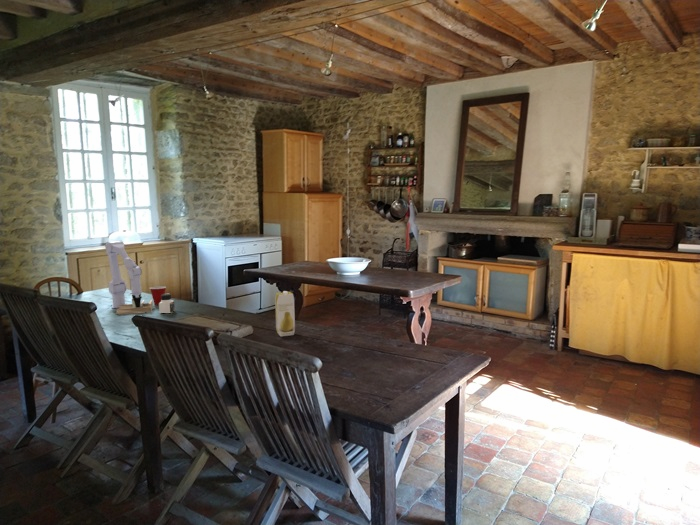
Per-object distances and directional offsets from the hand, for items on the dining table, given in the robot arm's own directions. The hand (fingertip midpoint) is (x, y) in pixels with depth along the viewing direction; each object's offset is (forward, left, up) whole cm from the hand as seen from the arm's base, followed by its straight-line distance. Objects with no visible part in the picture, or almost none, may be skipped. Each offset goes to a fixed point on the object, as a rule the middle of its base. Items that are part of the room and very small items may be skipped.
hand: (137, 306), depth 315 cm
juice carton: (+79, +84, -3) cm, 115 cm away
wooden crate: (0, -1, -3) cm, 3 cm away
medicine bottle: (+10, +19, -3) cm, 21 cm away
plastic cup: (-16, +12, -3) cm, 20 cm away
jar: (0, 0, -2) cm, 2 cm away
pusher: (0, +3, -2) cm, 4 cm away
